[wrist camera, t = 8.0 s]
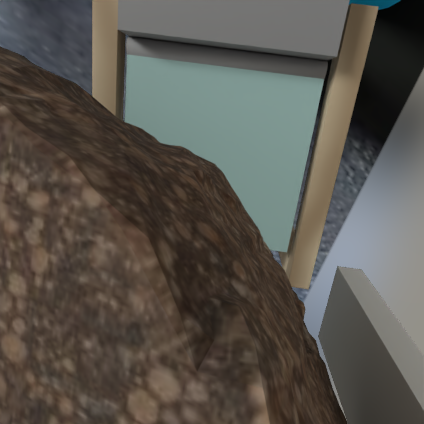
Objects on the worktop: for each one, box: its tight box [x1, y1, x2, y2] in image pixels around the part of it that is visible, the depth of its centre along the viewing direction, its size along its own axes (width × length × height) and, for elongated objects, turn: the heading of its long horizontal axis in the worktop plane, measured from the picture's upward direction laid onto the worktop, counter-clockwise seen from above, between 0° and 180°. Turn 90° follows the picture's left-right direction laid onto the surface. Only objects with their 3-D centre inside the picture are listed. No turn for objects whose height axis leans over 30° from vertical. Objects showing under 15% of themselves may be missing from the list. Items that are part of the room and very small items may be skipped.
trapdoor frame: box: [92, 0, 379, 289], centre depth 28 cm, size 16×18×13 cm
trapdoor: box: [117, 0, 350, 252], centre depth 22 cm, size 12×17×4 cm
